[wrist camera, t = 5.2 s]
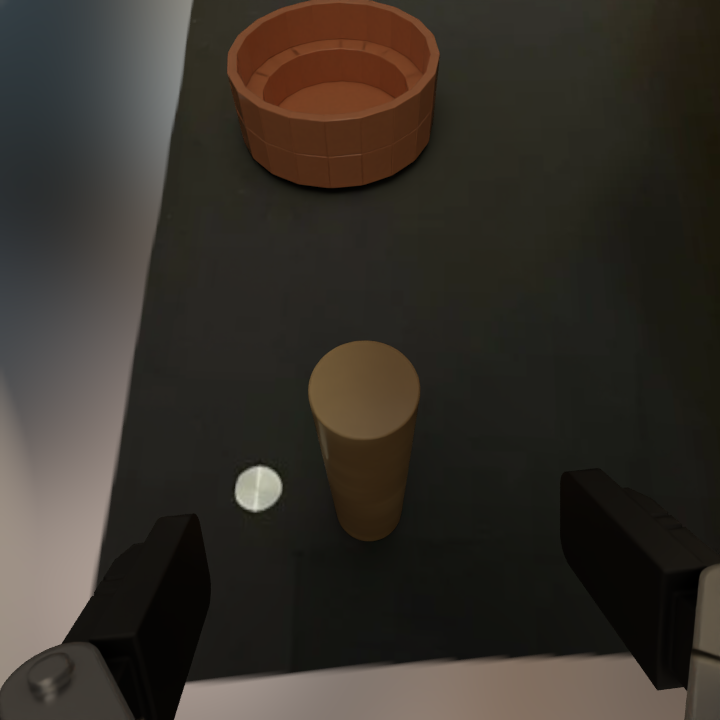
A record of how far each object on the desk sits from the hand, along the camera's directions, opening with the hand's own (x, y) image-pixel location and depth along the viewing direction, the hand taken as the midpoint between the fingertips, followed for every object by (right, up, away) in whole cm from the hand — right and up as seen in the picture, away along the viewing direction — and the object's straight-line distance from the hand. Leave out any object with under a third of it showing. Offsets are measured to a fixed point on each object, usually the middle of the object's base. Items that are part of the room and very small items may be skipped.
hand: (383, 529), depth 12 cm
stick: (0, -3, +13) cm, 13 cm away
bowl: (-2, +20, +27) cm, 33 cm away
